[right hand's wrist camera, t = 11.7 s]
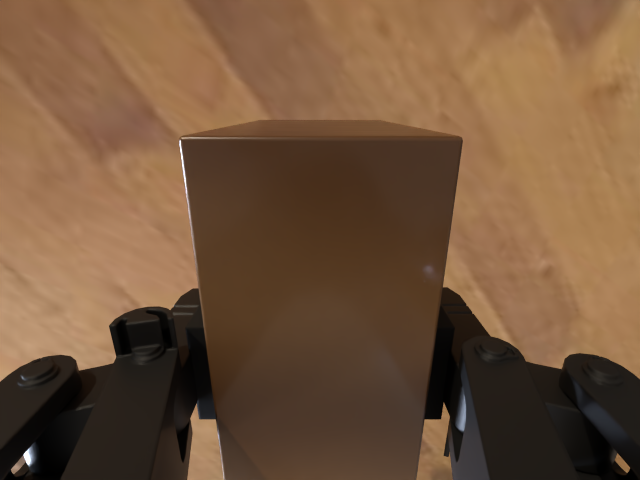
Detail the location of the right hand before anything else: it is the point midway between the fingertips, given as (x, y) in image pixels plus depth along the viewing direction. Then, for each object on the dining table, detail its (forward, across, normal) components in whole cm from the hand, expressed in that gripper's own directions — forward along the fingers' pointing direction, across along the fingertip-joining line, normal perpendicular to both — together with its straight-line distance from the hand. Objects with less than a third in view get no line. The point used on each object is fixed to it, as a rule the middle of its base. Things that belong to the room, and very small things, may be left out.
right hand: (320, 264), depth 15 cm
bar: (+1, 0, -25) cm, 25 cm away
